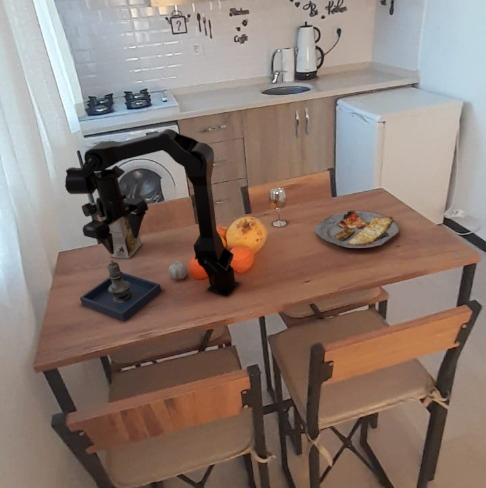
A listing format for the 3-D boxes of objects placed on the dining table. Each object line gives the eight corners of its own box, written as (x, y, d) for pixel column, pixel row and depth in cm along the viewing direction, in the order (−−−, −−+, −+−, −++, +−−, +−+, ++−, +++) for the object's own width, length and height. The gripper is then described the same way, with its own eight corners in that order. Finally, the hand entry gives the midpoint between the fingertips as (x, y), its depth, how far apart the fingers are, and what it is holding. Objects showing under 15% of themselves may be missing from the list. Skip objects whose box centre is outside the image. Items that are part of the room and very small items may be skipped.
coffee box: (125, 243, 156) (113, 199, 148) (142, 244, 155) (131, 199, 147) (111, 257, 149) (98, 212, 141) (129, 258, 147) (117, 212, 139)
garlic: (167, 274, 137) (164, 259, 134) (185, 269, 138) (182, 254, 136) (172, 284, 132) (169, 269, 129) (191, 279, 133) (188, 264, 131)
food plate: (347, 210, 161) (347, 200, 159) (411, 227, 146) (412, 217, 144) (302, 239, 146) (302, 229, 145) (368, 262, 132) (368, 251, 130)
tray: (161, 291, 130) (160, 284, 128) (124, 321, 120) (122, 313, 118) (120, 278, 138) (118, 271, 137) (82, 305, 128) (79, 297, 127)
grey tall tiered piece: (127, 304, 125) (117, 266, 119) (107, 303, 127) (96, 266, 121) (136, 291, 130) (126, 254, 124) (117, 290, 132) (106, 254, 126)
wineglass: (269, 221, 160) (267, 188, 154) (286, 218, 160) (284, 186, 154) (272, 228, 155) (269, 195, 149) (289, 226, 155) (287, 192, 149)
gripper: (113, 176, 130) (126, 225, 138) (60, 203, 117) (77, 256, 125) (143, 180, 125) (155, 232, 133) (90, 209, 112) (107, 264, 119)
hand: (124, 245), depth 128 cm, fingers open, 9 cm apart
